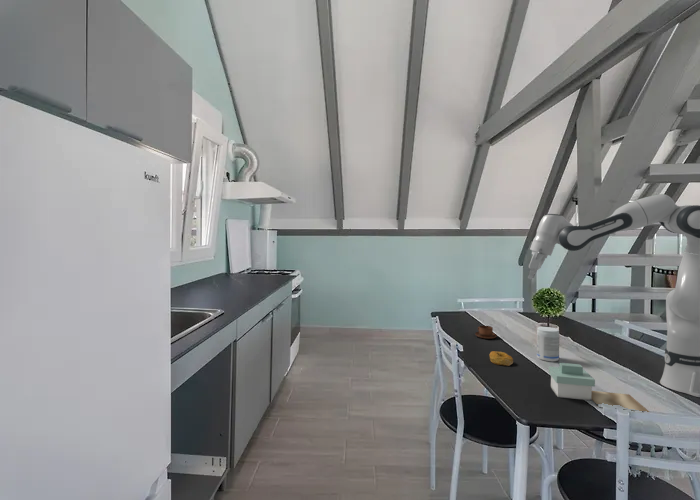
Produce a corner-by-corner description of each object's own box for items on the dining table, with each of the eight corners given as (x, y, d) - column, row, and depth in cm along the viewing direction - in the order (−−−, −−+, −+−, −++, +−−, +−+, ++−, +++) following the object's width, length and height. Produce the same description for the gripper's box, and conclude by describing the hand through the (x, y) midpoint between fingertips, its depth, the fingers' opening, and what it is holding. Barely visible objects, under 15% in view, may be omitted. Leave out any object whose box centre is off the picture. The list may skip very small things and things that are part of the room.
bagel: (502, 368, 164) (502, 357, 164) (484, 360, 174) (484, 350, 174) (518, 365, 168) (518, 354, 168) (499, 357, 178) (500, 348, 178)
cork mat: (629, 395, 136) (629, 394, 136) (649, 413, 122) (649, 411, 122) (584, 390, 140) (584, 389, 140) (599, 407, 126) (599, 406, 126)
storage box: (582, 390, 140) (582, 372, 140) (591, 400, 132) (591, 381, 131) (550, 387, 143) (551, 369, 143) (557, 396, 134) (558, 378, 134)
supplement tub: (562, 359, 175) (563, 329, 174) (552, 363, 170) (553, 332, 169) (542, 354, 183) (543, 325, 183) (532, 357, 178) (533, 328, 177)
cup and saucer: (471, 337, 213) (471, 327, 213) (480, 333, 222) (480, 323, 222) (492, 341, 205) (492, 330, 205) (499, 337, 214) (500, 327, 214)
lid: (583, 375, 141) (584, 361, 140) (594, 386, 131) (595, 371, 130) (548, 372, 144) (549, 358, 144) (556, 382, 134) (557, 368, 134)
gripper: (548, 251, 150) (536, 282, 153) (550, 250, 168) (539, 278, 170) (531, 246, 153) (520, 277, 156) (535, 246, 171) (525, 274, 173)
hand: (530, 278), depth 163 cm, fingers open, 8 cm apart
